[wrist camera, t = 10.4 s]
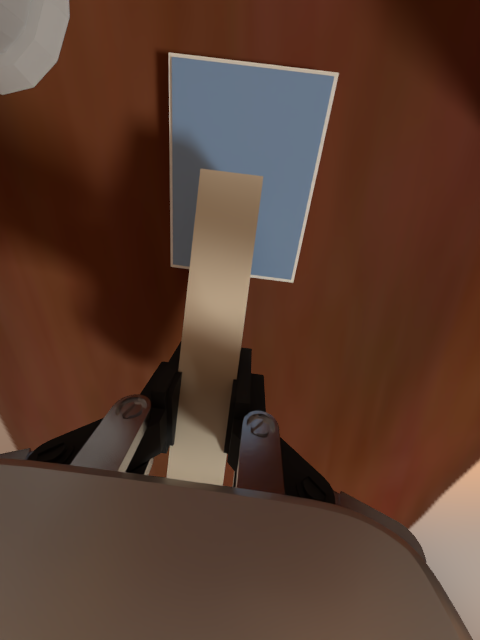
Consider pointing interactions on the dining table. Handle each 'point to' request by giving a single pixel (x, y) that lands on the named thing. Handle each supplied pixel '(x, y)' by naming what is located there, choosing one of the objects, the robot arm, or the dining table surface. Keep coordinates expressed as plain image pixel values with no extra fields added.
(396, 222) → the dining table surface
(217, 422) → the cream wooden plank
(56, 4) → the french press
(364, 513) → the robot arm
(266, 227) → the tile
